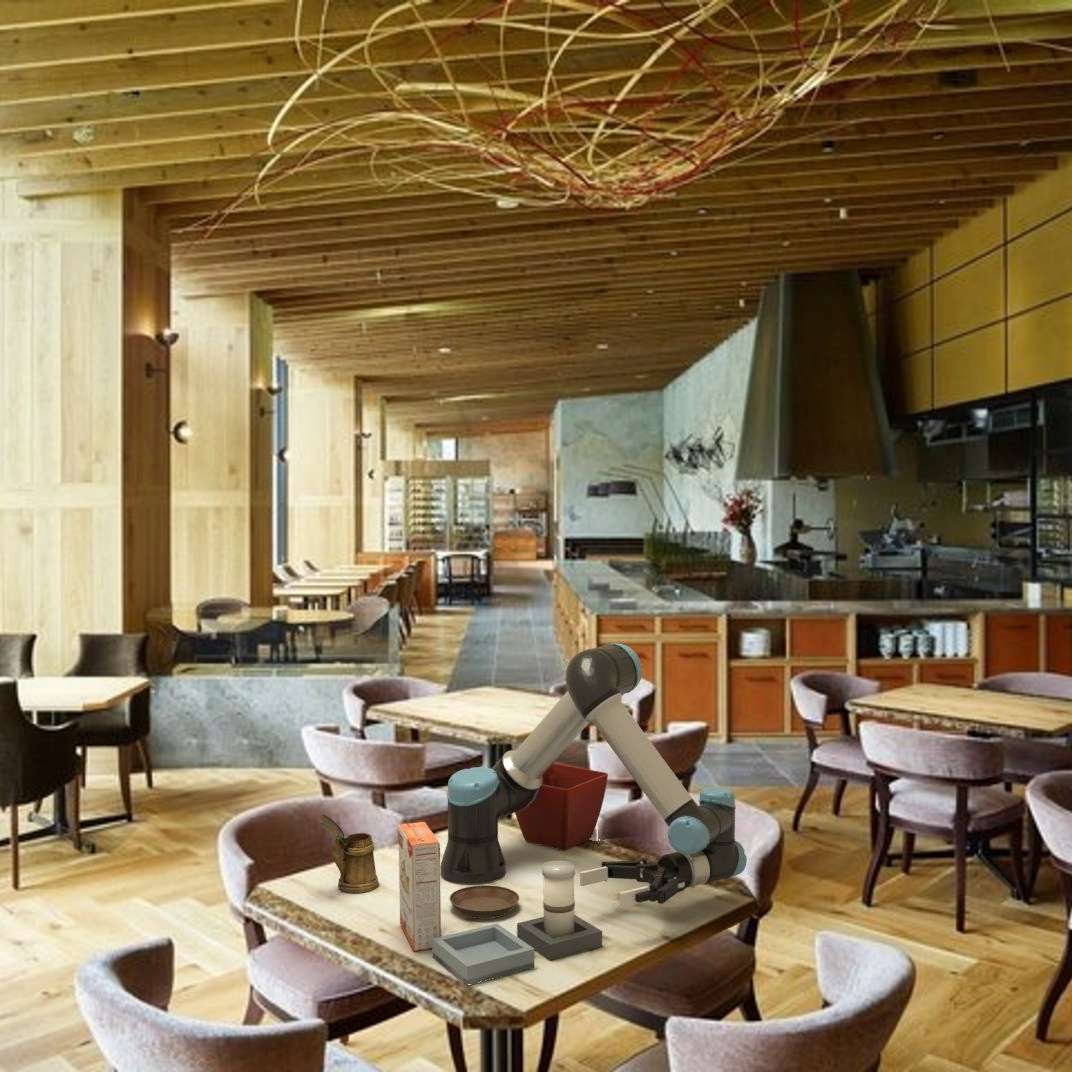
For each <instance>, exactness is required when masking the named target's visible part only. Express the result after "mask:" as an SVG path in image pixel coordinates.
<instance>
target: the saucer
mask: <svg viewBox="0 0 1072 1072" xmlns="http://www.w3.org/2000/svg"><path fill="white" fill-rule="evenodd" d="M519 900H520V895H519V894H518V892H516V891H515V890H513V889H510V888H508V887H504V886H500V885H487V884H483V885H481V884H478V885H471V886H467V887H462V888H459V889H457V890H455V891H453V892H452V893H451V894H450V895H449V902H450V903H451V905H452V906H453V907H454V909H455V910H456V911H458V912H459V913H460V914H461V915H464V916H466V917H469V918H474V919H482V918H483V919H494V918H493V917H495V918H498V916H499V917H503V916H505V915H507V914H508V913H510V912H511V911H512V910H513V909H515V906H516V905H517V903H518V902H519ZM506 913H507V914H506ZM504 914H505V915H504Z"/></svg>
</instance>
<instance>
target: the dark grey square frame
mask: <svg viewBox="0 0 1072 1072" xmlns="http://www.w3.org/2000/svg"><path fill="white" fill-rule="evenodd" d="M574 923H575V933H573V934H569V935H565V936H562V937H558V938H554V939H553V938H551V937H550V936H548V935H546V934H545V933H544V916H542V917H536V918H533V919H528V920H525V921H522V922H517V924H516V937H518V938H519V939H521V940H522V941H524V942H525V943H527V944H528V945H529V946H531V947H532V948H534V952H536V953H538V954H539V955H541V956H543V958H545V959H547V960H548V961H554V960H557V959H562V958H566V957H568V956H569V957H570V956H572V955H575V954H580V953H583V952H586V951H591V950H594V949H598V948H601V947H603V930H601V929H600V928H598V927H596V926H594V925H593V924H591V923H589V922H588V921H587V920H585V919H583V918H581V917H579V916H578V915H576V914H574Z"/></svg>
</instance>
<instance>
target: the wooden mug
mask: <svg viewBox="0 0 1072 1072" xmlns="http://www.w3.org/2000/svg"><path fill="white" fill-rule="evenodd" d="M321 821H322V823H323V825H324V826H325V827H326V828H327V829H328V830H329V832H330V833H331V834H332V835H333V836H334V837H335V841H334V843H333V846H332V858H333V862H334V863H335V865H336V867H337V869H338V870H339V873H340V874H339V875H340V876H339V878H338V883H337V888H338V889H339V890H340V891H342V892H343V893H347V894H364V893H369V892H372V891H373V890H375V889H376V888H378V886H379V885H380V883H379V877H378V875H377V870H376V869H377V868H376V862H375V858H374V857H375V856H374V851H375V845H374V842H373V839H372V835H371V834H369V833H366V832H356V833H352V834H351V833H350V834H349V835H347V836H345V833H344V831H343V829H342V828H341V827H340V826H339V825H338V824H337V823H336V822H335V821H334V820H333V819H331V818H330V817H329V816H327V815H325V814H323V815H322V816H321ZM341 852H342V858H341Z"/></svg>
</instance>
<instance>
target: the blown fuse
mask: <svg viewBox="0 0 1072 1072" xmlns="http://www.w3.org/2000/svg"><path fill="white" fill-rule="evenodd" d="M541 866H542V867H541V868H542V869H541V870H542V873H541V875H542V876H543V881H542V882H543V903H542V904H543V906H542V907H543V917H544V933H545V934H546V935H548V936H550V937H551V938H553V939H554V938H558V937H562V936H565V935H569V934H573V933H575V923H574V915H575V906H576V905H575V875H576V865H575V864H574V863H573V862H571V861H568V860H550V861H547V862H544V863H543V864H542V865H541Z"/></svg>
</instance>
